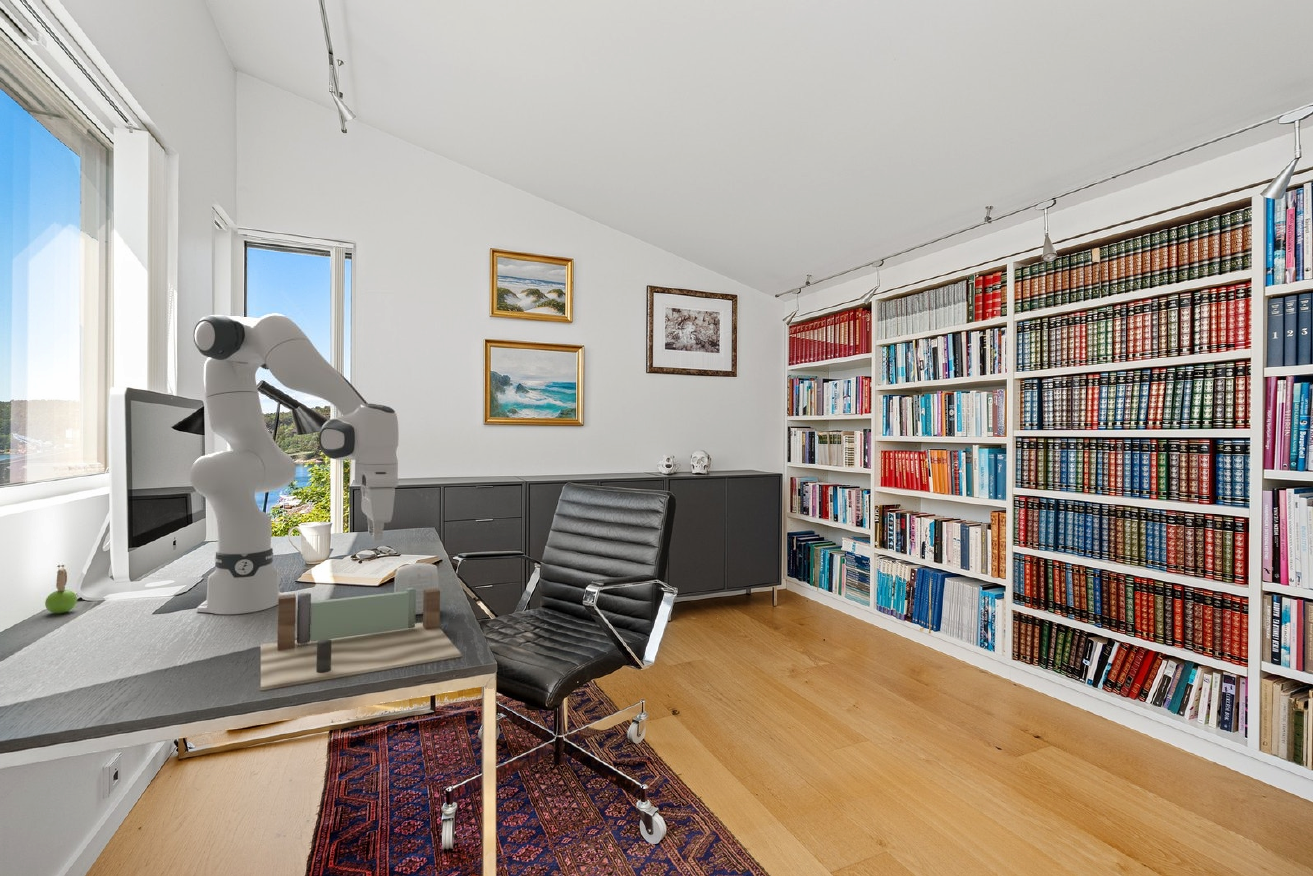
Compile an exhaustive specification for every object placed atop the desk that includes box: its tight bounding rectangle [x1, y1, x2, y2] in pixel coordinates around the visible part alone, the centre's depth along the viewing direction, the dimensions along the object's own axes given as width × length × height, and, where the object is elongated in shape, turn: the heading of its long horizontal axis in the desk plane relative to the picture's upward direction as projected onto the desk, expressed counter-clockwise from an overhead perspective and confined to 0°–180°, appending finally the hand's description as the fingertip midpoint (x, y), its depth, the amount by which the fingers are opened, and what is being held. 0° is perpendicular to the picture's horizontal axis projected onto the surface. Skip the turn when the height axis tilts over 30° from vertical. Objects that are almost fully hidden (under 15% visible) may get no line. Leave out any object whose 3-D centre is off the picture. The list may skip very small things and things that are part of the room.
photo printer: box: [393, 562, 439, 615], centre depth 155 cm, size 10×4×12 cm, turn 123°
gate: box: [296, 588, 416, 644], centre depth 135 cm, size 23×2×10 cm, turn 122°
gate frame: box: [260, 587, 462, 691], centre depth 128 cm, size 24×34×11 cm
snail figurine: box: [44, 564, 78, 614], centre depth 146 cm, size 5×6×12 cm
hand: (375, 537), depth 141 cm, fingers open, 5 cm apart
